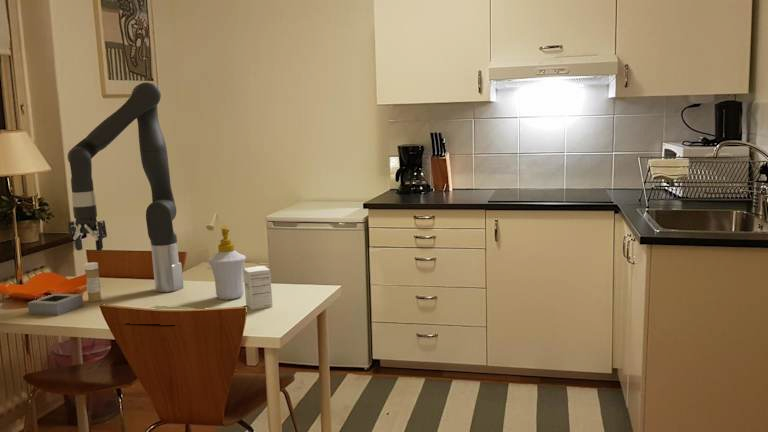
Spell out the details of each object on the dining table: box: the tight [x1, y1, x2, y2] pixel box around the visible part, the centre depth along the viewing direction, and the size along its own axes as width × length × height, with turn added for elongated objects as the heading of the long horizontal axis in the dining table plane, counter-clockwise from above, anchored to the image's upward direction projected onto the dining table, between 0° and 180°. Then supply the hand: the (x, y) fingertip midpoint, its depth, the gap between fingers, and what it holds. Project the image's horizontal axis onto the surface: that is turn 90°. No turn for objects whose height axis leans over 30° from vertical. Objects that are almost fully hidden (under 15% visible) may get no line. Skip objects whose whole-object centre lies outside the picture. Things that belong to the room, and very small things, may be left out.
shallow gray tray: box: [27, 292, 84, 317], centre depth 252 cm, size 26×21×4 cm
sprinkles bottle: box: [83, 261, 102, 303], centre depth 255 cm, size 5×5×14 cm
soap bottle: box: [208, 225, 247, 301], centre depth 250 cm, size 13×13×25 cm
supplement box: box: [243, 265, 273, 311], centre depth 237 cm, size 7×7×13 cm
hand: (89, 250), depth 254 cm, fingers open, 8 cm apart
